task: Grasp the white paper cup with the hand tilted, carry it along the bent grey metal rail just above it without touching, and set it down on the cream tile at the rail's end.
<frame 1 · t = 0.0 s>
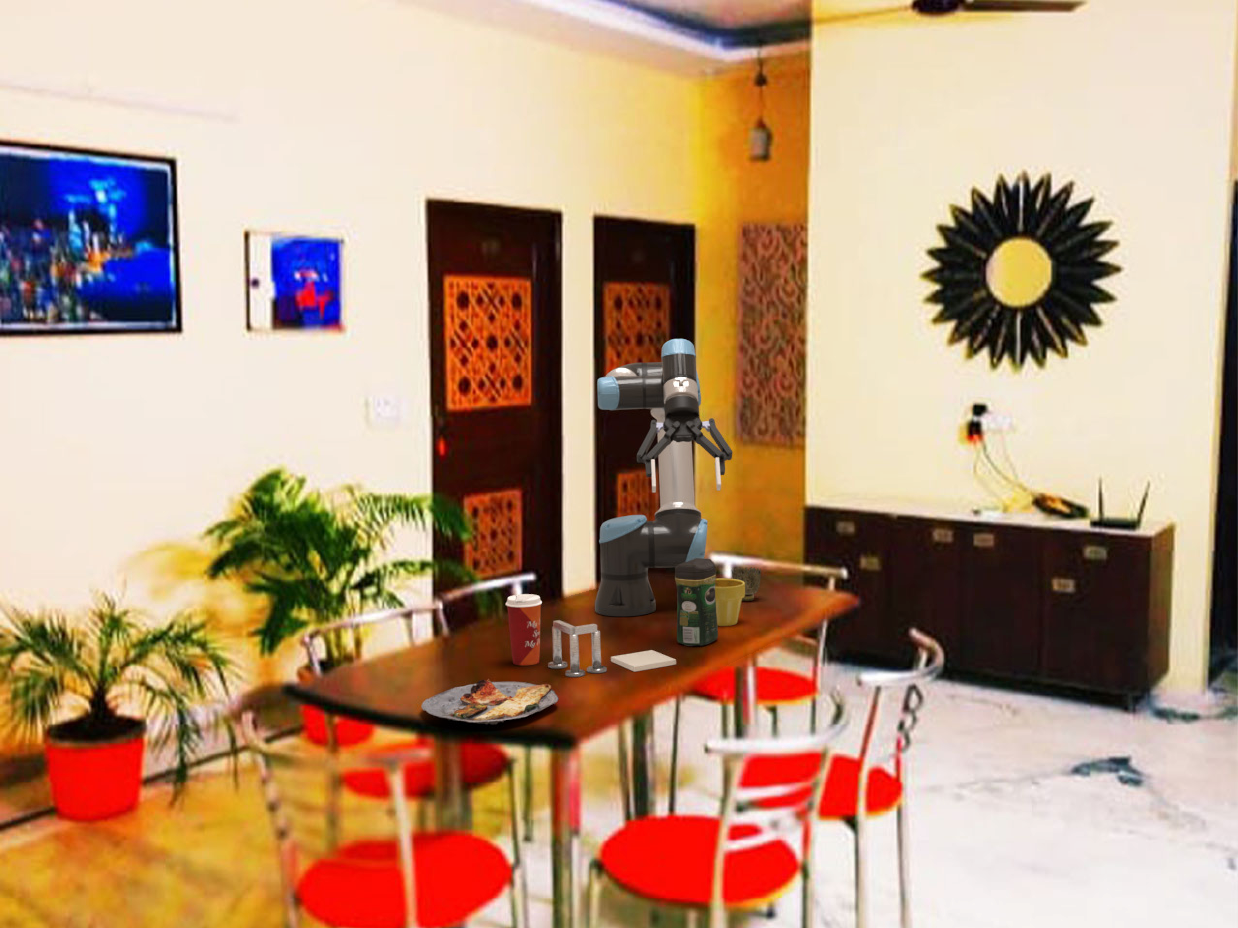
hand: (686, 488, 272), 36 cm above the table, tool tilted 35°, fingers open, 13 cm apart
food plate: (491, 711, 241), on the table
paper cup: (526, 662, 275), on the table
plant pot: (723, 623, 306), on the table
cup: (746, 601, 331), on the table
coffee jar: (697, 642, 289), on the table
bent rail: (577, 669, 268), on the table
cream tile: (643, 662, 272), on the table
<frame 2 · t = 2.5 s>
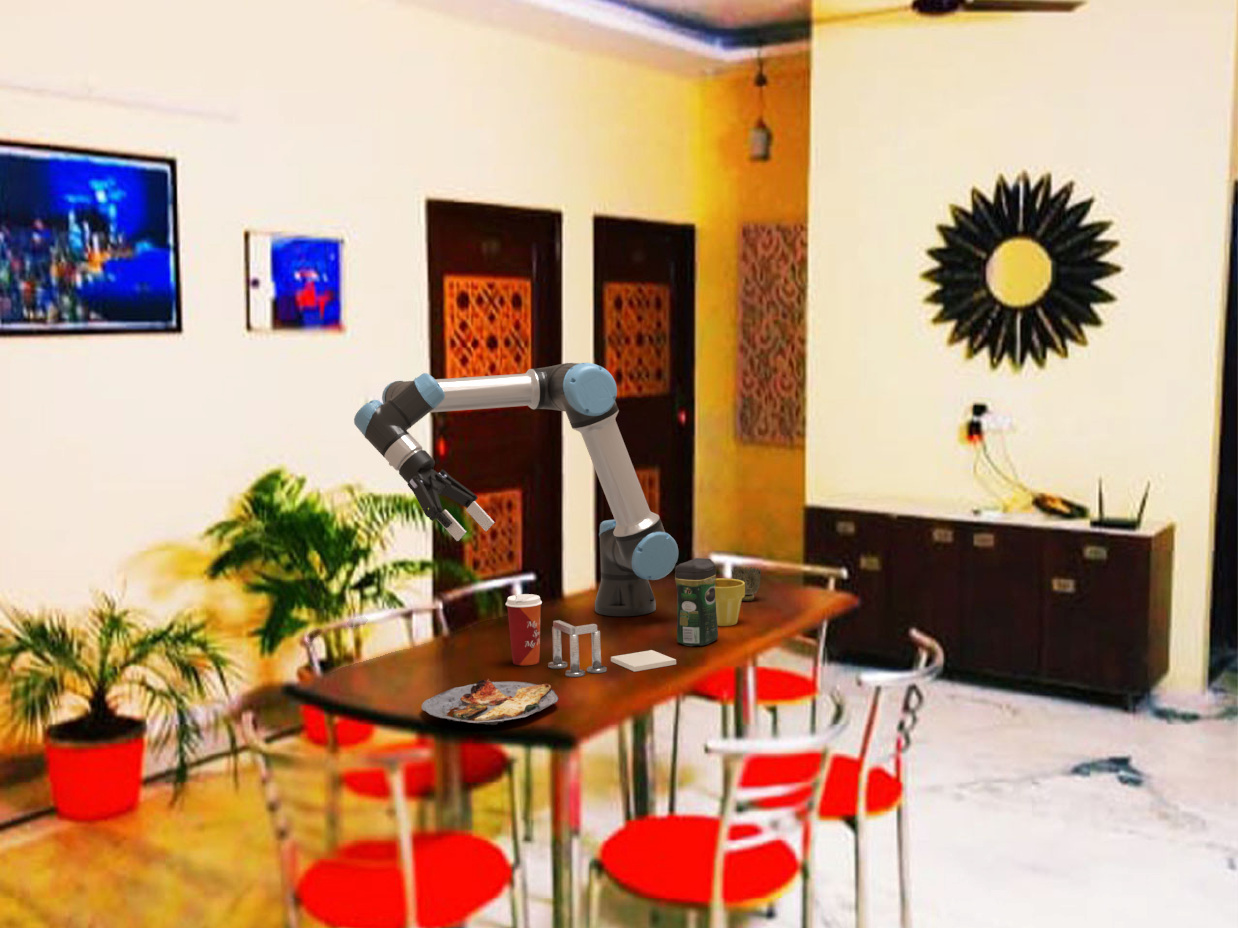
hand: (476, 531, 276), 28 cm above the table, tool tilted 45°, fingers open, 13 cm apart
nothing on the table moved.
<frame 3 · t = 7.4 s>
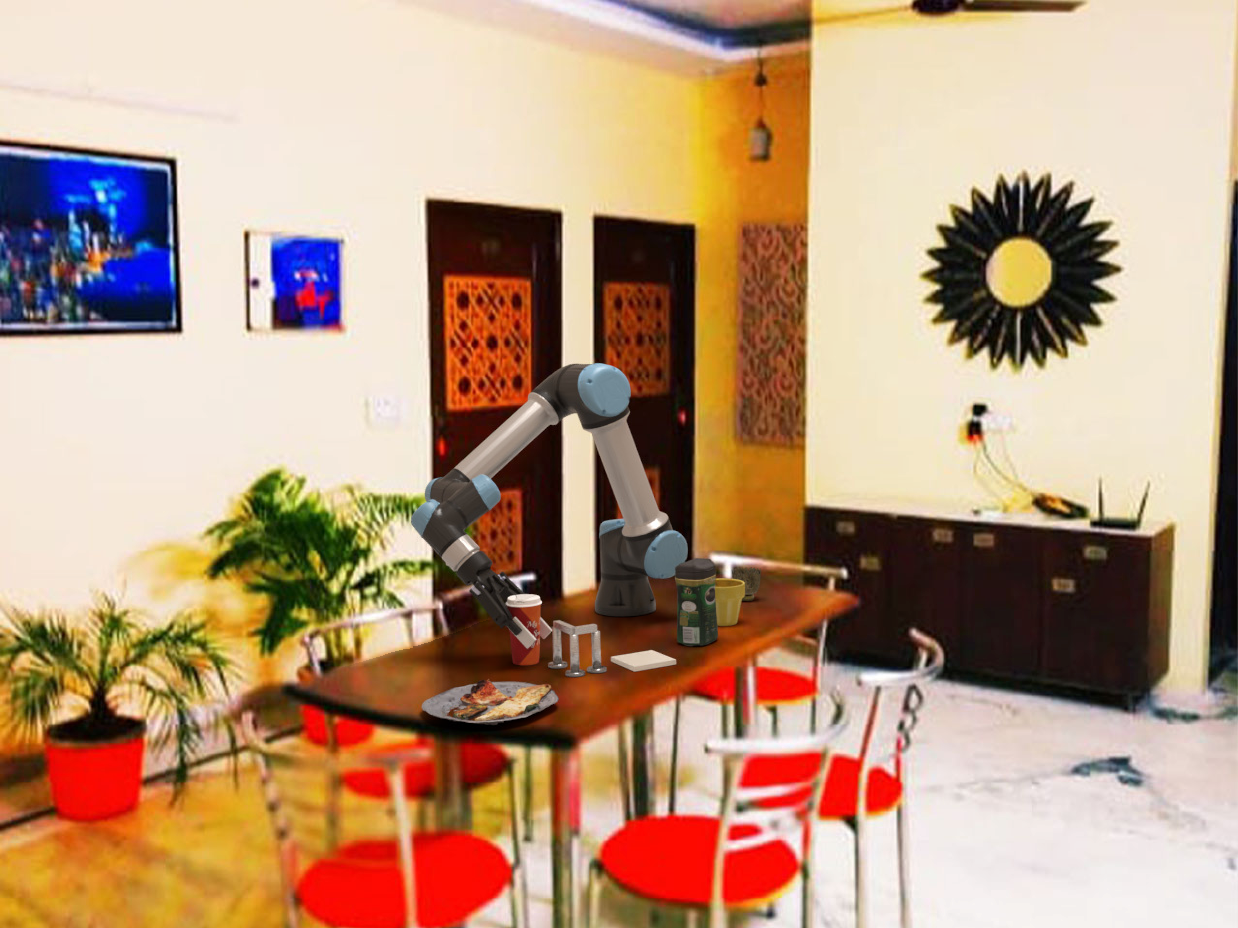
hand: (540, 639, 274), 5 cm above the table, tool tilted 45°, fingers closed on paper cup, 8 cm apart
paper cup: (526, 662, 275), on the table, touching gripper
everything else where it was.
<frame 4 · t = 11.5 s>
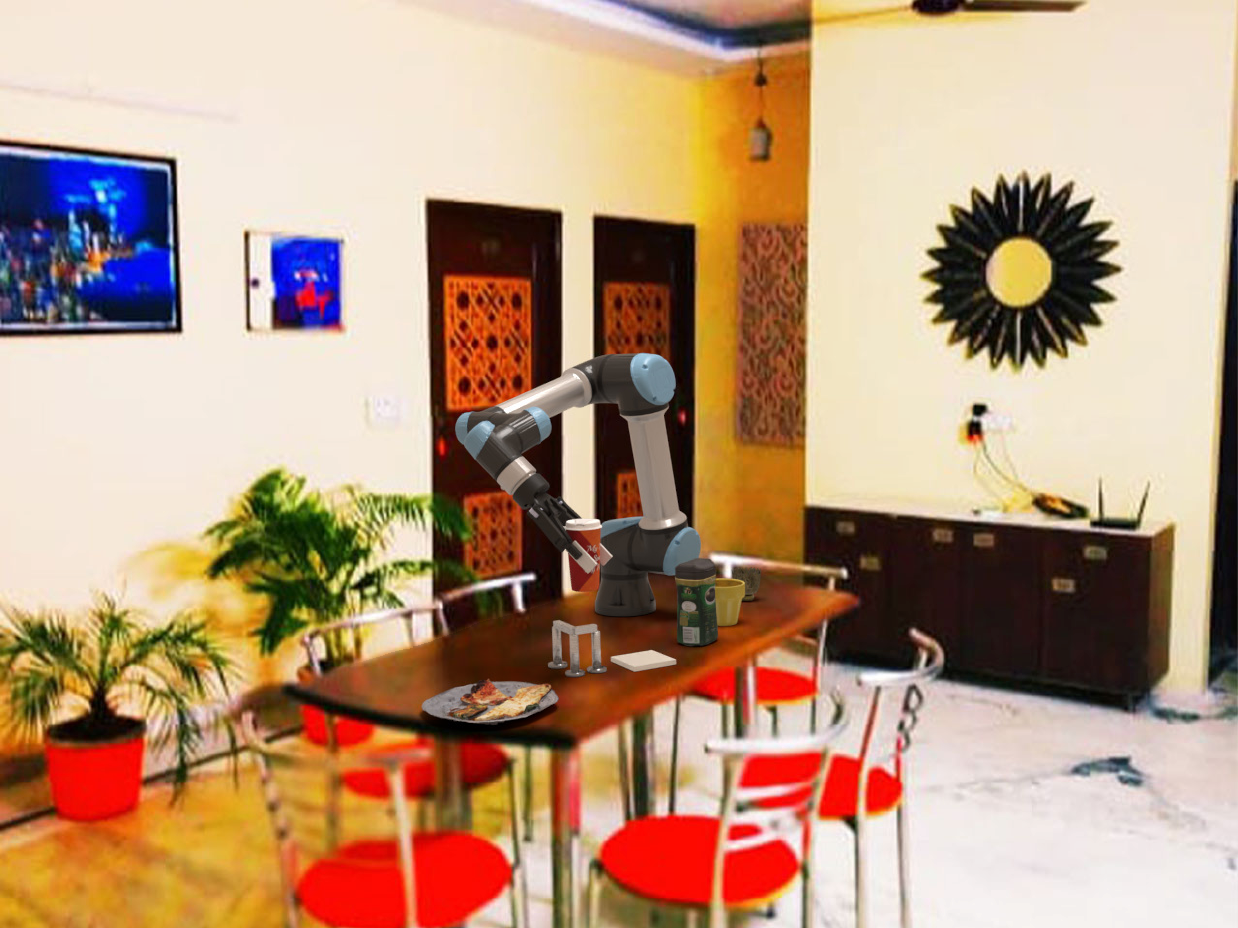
hand: (600, 564, 262), 22 cm above the table, tool tilted 45°, fingers closed on paper cup, 8 cm apart
paper cup: (585, 589, 264), point 17 cm above the table, touching gripper
everything else where it was.
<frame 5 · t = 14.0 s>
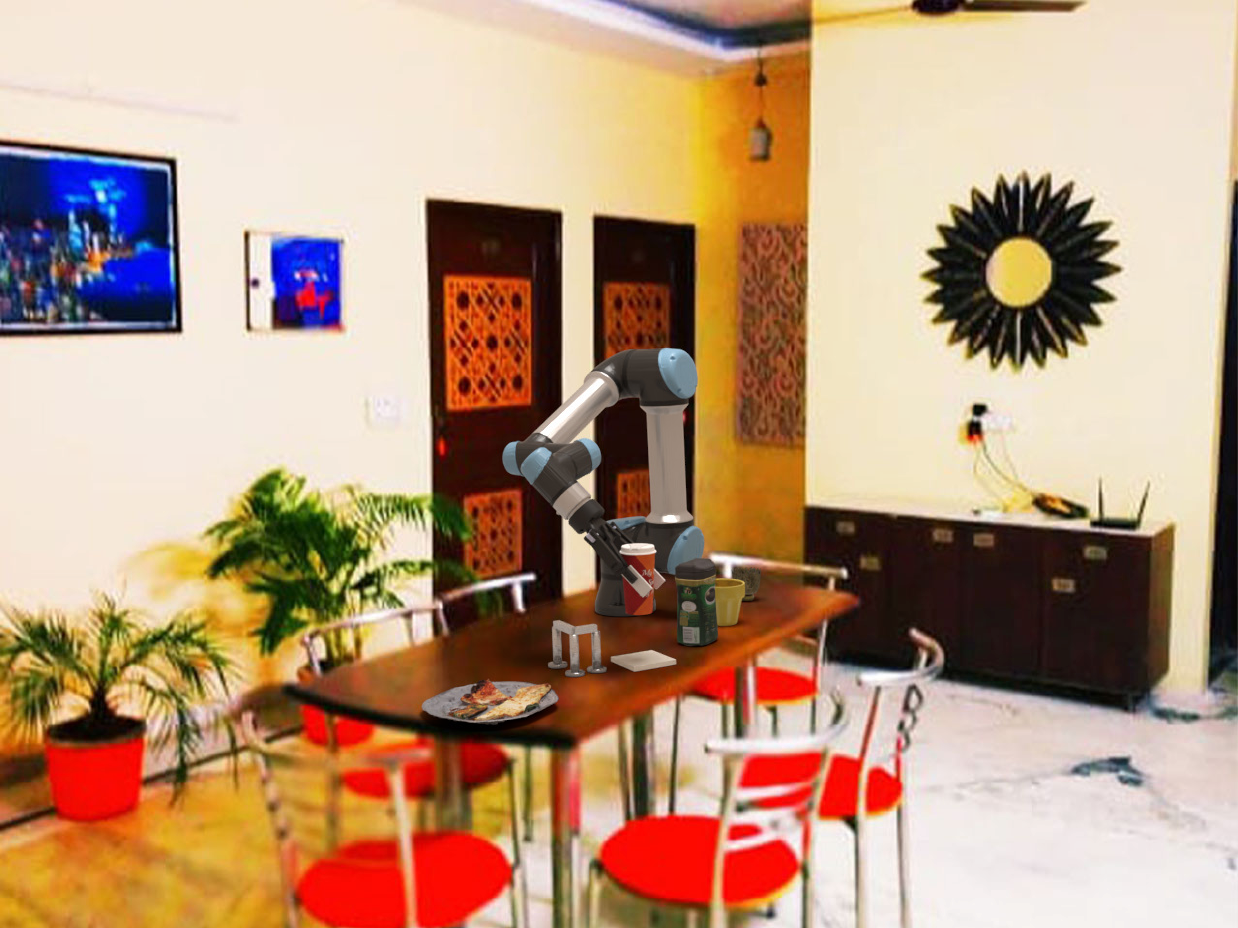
hand: (654, 588, 268), 16 cm above the table, tool tilted 45°, fingers closed on paper cup, 8 cm apart
paper cup: (639, 613, 270), point 11 cm above the table, touching gripper
everything else where it was.
when the fingers open (8 cm above the table, at t = 15.9 s): paper cup drops 1 cm, resting on cream tile.
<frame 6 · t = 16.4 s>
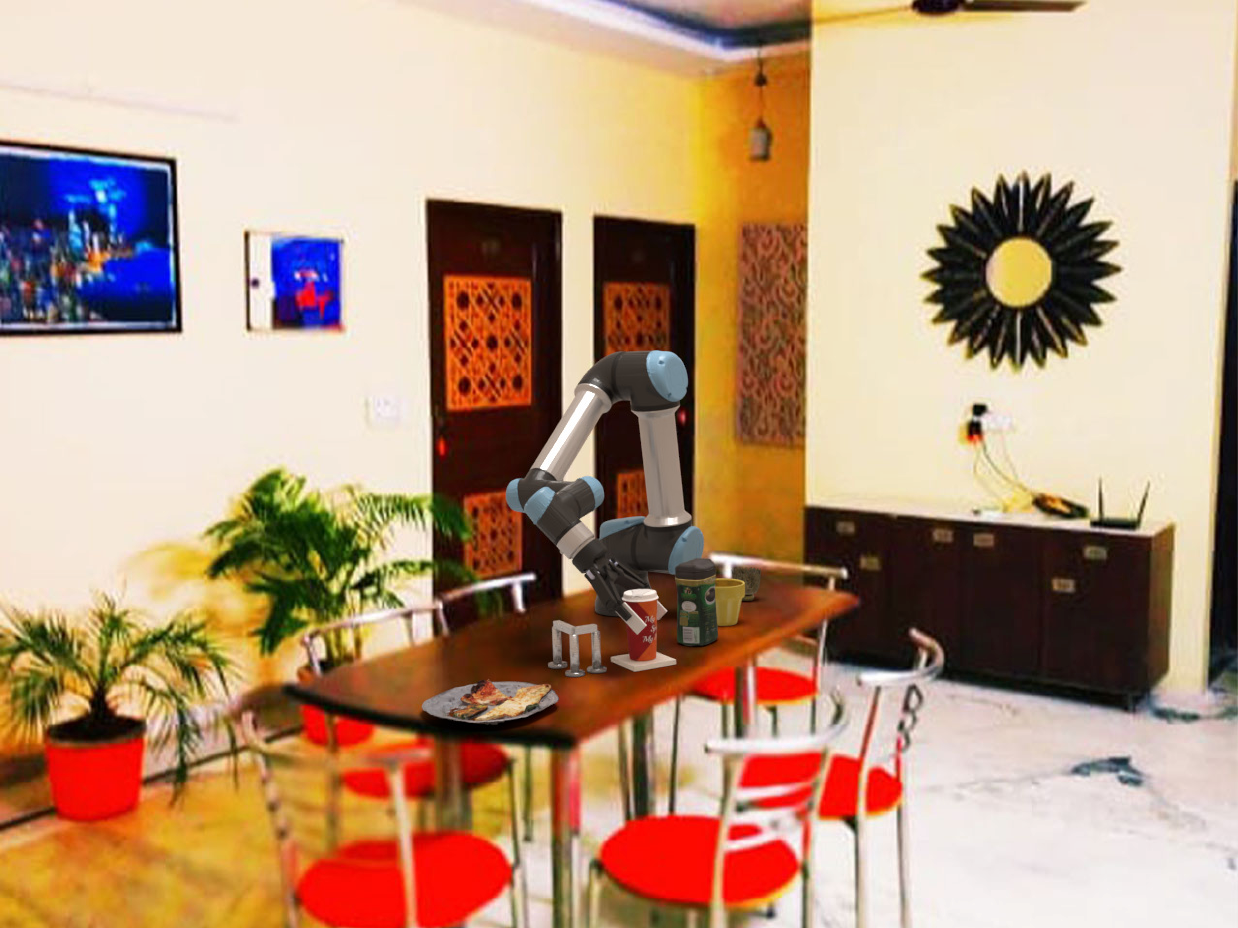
hand: (652, 622, 270), 9 cm above the table, tool tilted 45°, fingers open, 13 cm apart
paper cup: (643, 658, 272), point 1 cm above the table, touching cream tile
everything else where it was.
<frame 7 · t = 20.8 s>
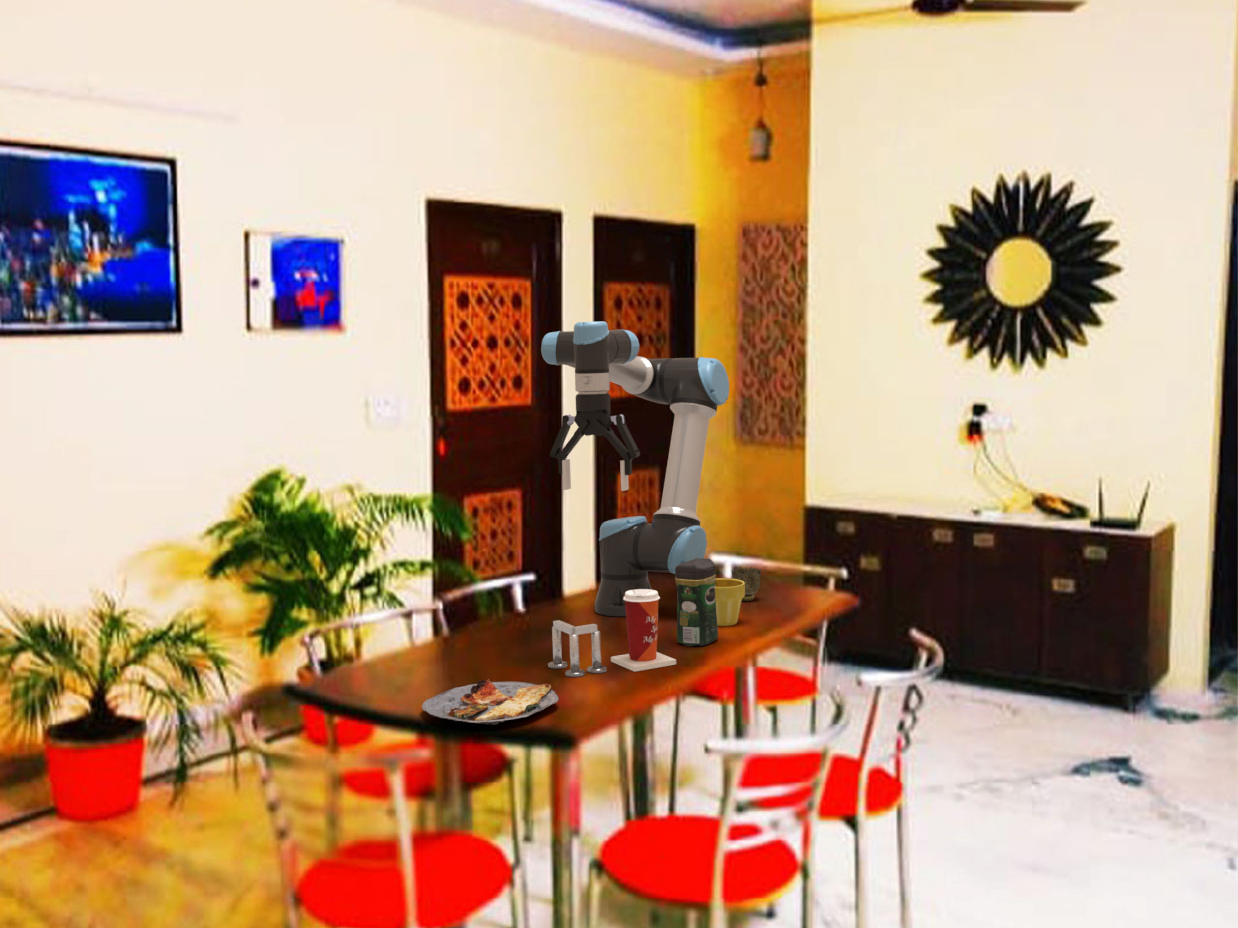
hand: (595, 489, 285), 35 cm above the table, tool pointing down, fingers open, 13 cm apart
nothing on the table moved.
at the end: paper cup inside the target area (0.2 cm from its centre), point 0.8 cm above the table; paper cup tilted 0°; paper cup touching cream tile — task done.
